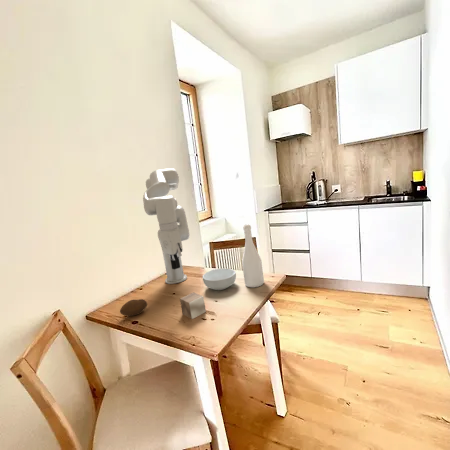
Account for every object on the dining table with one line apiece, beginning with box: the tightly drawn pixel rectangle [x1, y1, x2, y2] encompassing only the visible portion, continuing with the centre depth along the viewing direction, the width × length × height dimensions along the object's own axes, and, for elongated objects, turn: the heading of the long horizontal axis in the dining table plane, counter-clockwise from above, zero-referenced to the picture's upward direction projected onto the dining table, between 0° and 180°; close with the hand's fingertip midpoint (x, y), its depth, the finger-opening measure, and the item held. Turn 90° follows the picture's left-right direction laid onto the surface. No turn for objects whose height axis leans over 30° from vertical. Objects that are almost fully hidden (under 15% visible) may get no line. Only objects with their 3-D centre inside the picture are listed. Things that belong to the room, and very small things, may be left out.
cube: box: [179, 292, 207, 320], centre depth 106 cm, size 7×7×7 cm
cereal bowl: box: [202, 267, 237, 291], centre depth 130 cm, size 17×17×7 cm
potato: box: [119, 298, 148, 317], centre depth 113 cm, size 7×12×7 cm, turn 131°
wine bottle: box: [241, 223, 265, 288], centre depth 125 cm, size 10×10×30 cm
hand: (176, 268), depth 111 cm, fingers closed
